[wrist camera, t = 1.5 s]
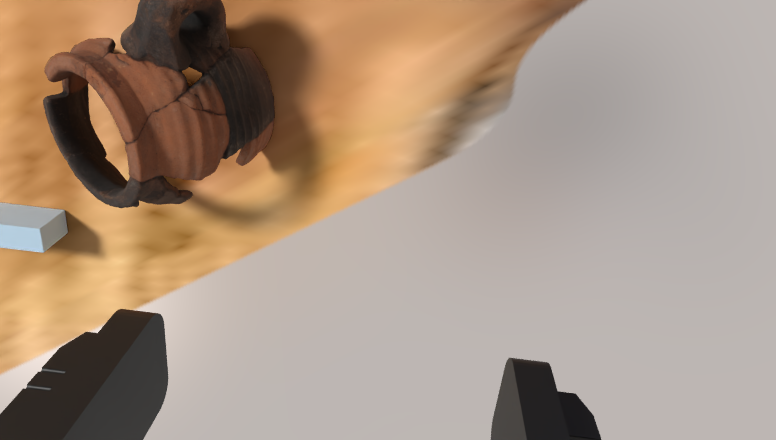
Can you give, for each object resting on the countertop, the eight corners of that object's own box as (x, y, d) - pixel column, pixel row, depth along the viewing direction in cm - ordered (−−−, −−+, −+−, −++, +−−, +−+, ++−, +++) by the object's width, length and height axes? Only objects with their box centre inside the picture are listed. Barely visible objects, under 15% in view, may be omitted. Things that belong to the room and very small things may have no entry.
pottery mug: (270, 196, 35) (149, 262, 29) (161, 109, 37) (30, 153, 31) (318, 2, 27) (166, 37, 21) (177, -91, 30) (6, -83, 24)
